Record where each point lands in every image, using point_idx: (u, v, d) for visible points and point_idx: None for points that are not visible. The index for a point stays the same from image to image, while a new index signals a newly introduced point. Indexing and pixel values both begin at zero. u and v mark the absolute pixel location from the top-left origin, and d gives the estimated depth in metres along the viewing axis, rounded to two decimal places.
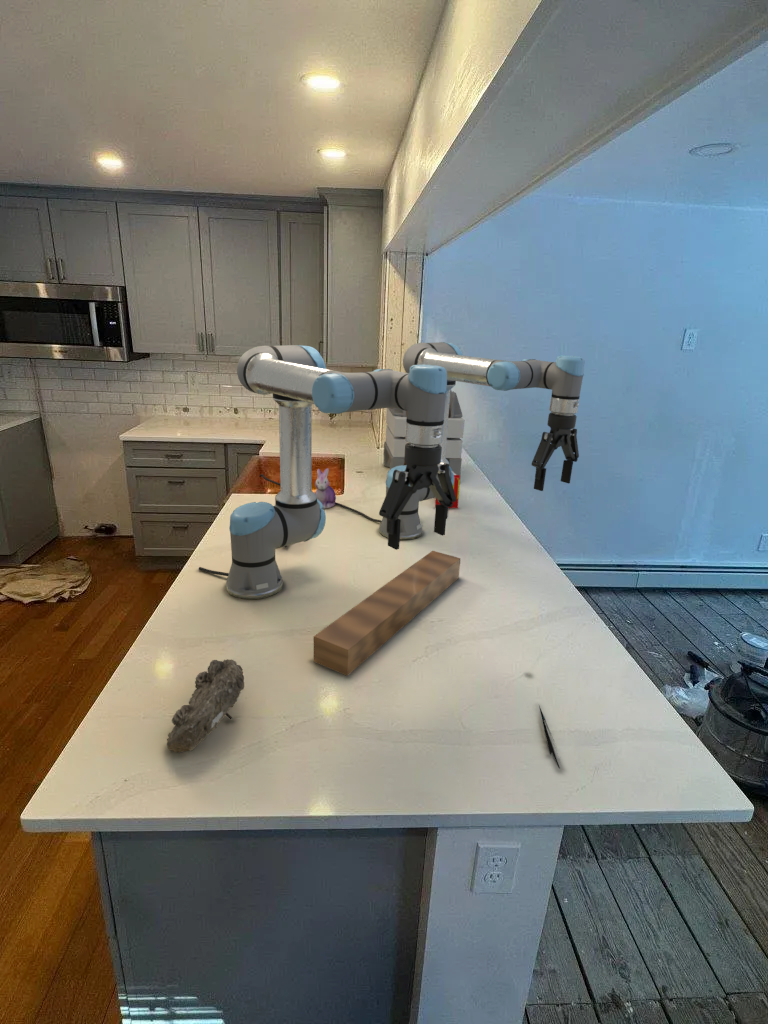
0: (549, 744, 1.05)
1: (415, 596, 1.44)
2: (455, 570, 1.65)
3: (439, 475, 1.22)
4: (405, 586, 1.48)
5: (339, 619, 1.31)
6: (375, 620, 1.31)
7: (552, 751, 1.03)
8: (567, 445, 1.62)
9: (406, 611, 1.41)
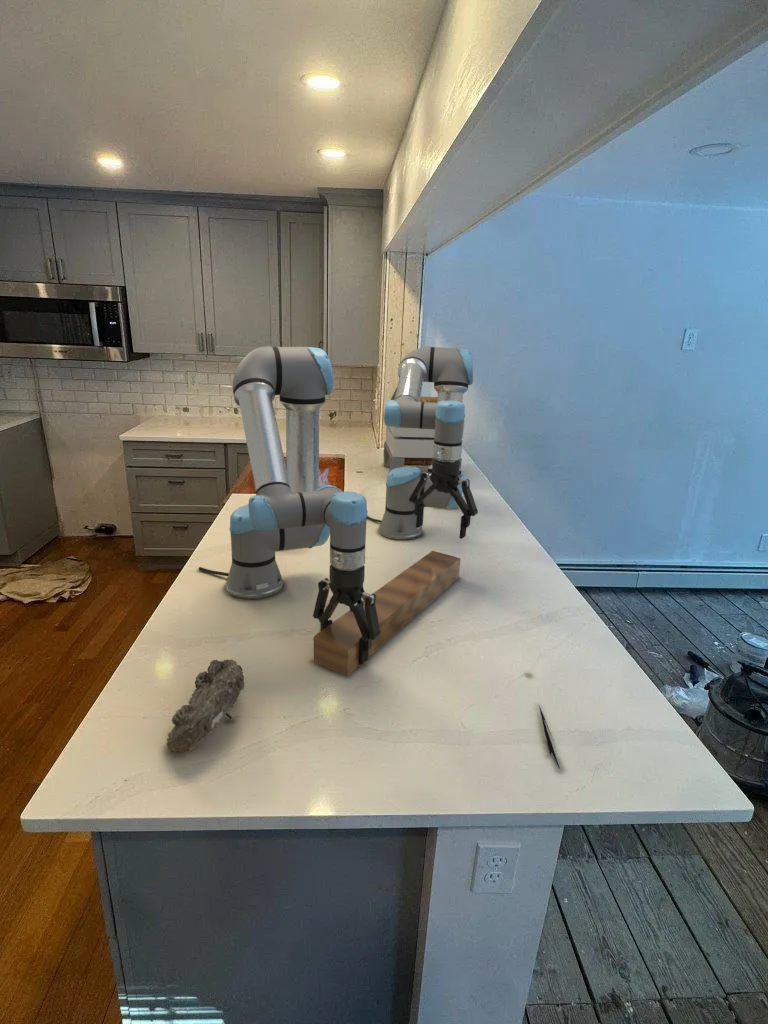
0: (549, 744, 1.05)
1: (415, 596, 1.44)
2: (455, 570, 1.65)
3: None
4: (405, 586, 1.48)
5: (339, 619, 1.31)
6: None
7: (552, 751, 1.03)
8: None
9: (406, 611, 1.41)
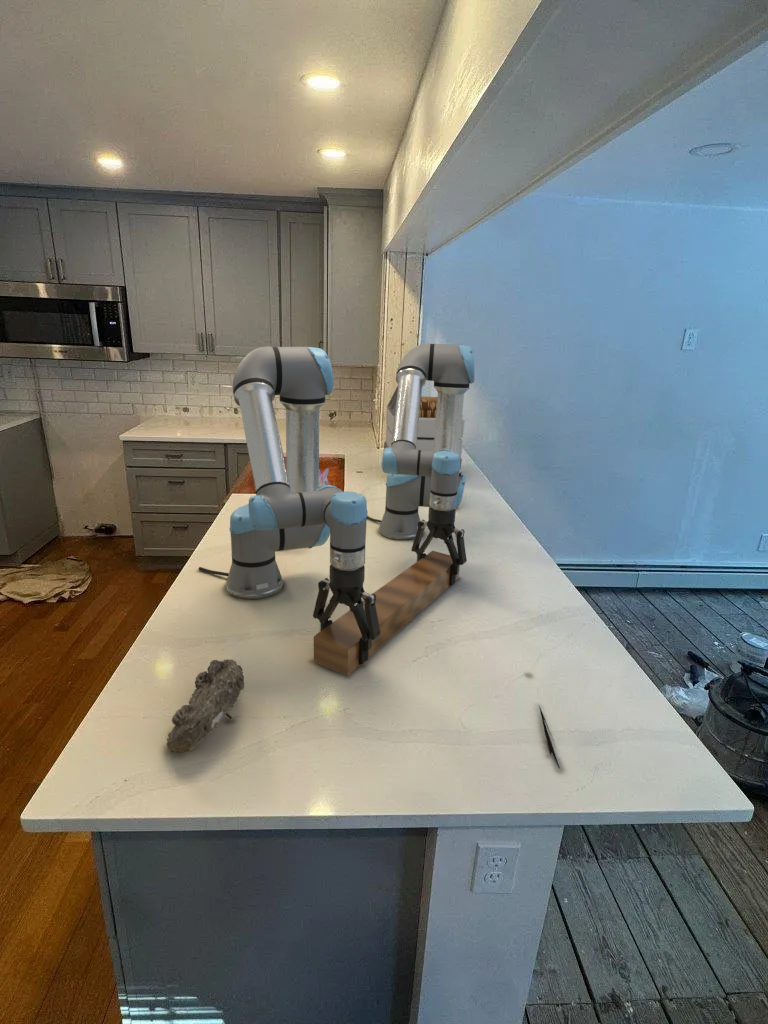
0: (549, 744, 1.05)
1: (415, 596, 1.44)
2: None
3: None
4: (405, 586, 1.48)
5: (339, 619, 1.31)
6: None
7: (552, 751, 1.03)
8: None
9: (406, 611, 1.41)
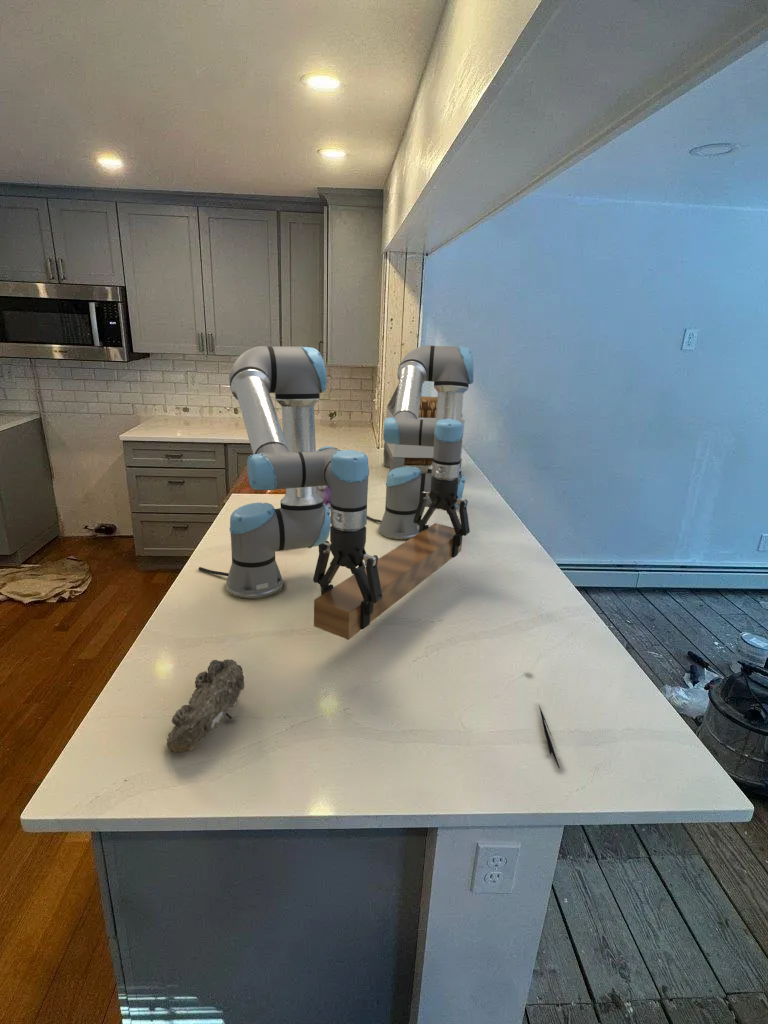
0: (549, 744, 1.05)
1: (417, 564, 1.41)
2: None
3: None
4: (407, 555, 1.45)
5: (340, 584, 1.28)
6: None
7: (552, 751, 1.03)
8: None
9: (408, 579, 1.39)
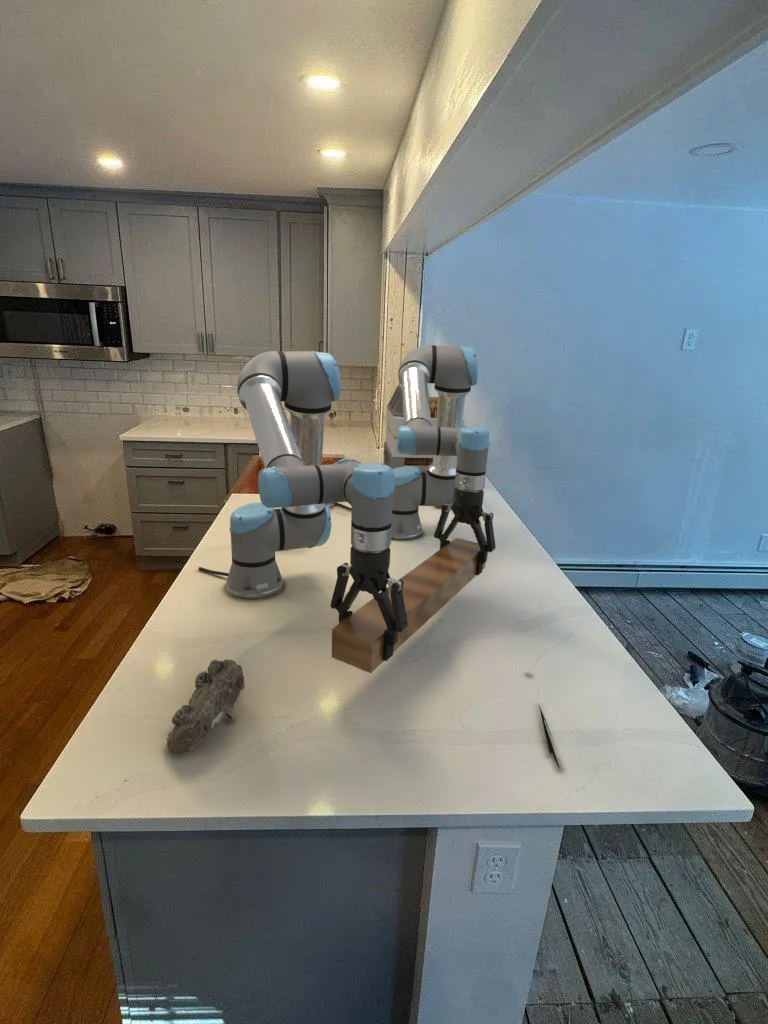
0: (549, 744, 1.05)
1: (441, 585, 1.29)
2: None
3: None
4: (429, 575, 1.33)
5: (359, 610, 1.17)
6: None
7: (552, 751, 1.03)
8: None
9: (432, 602, 1.27)
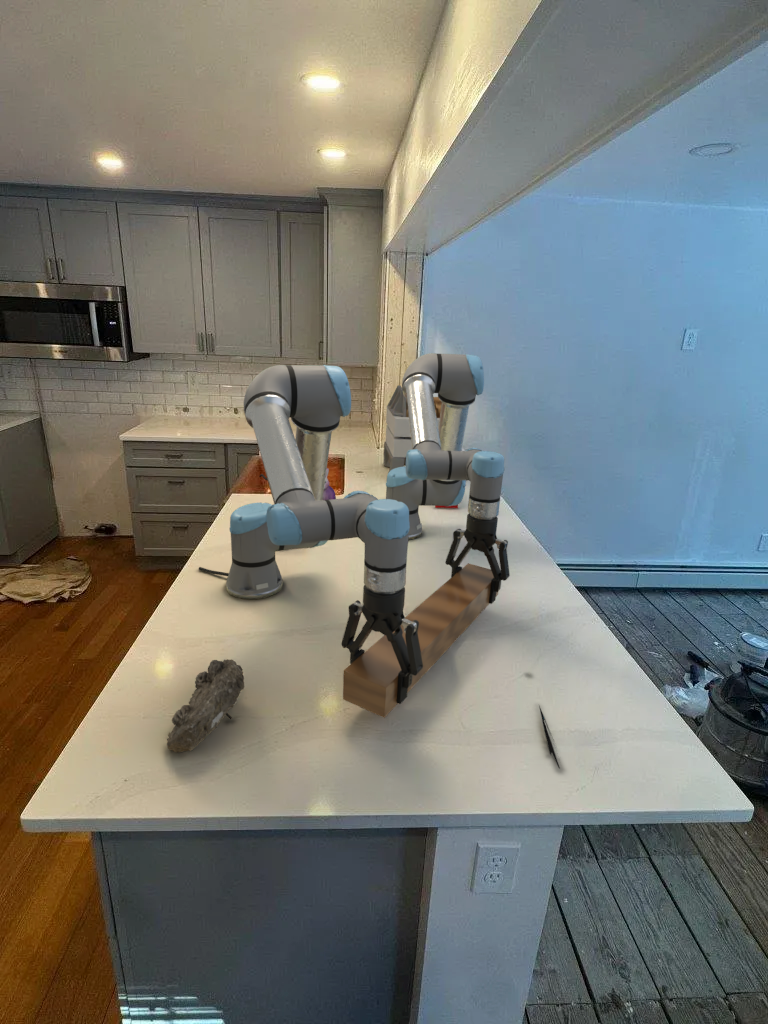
0: (549, 744, 1.05)
1: (455, 619, 1.25)
2: None
3: None
4: (443, 607, 1.29)
5: (372, 648, 1.12)
6: None
7: (552, 751, 1.03)
8: None
9: (446, 637, 1.22)
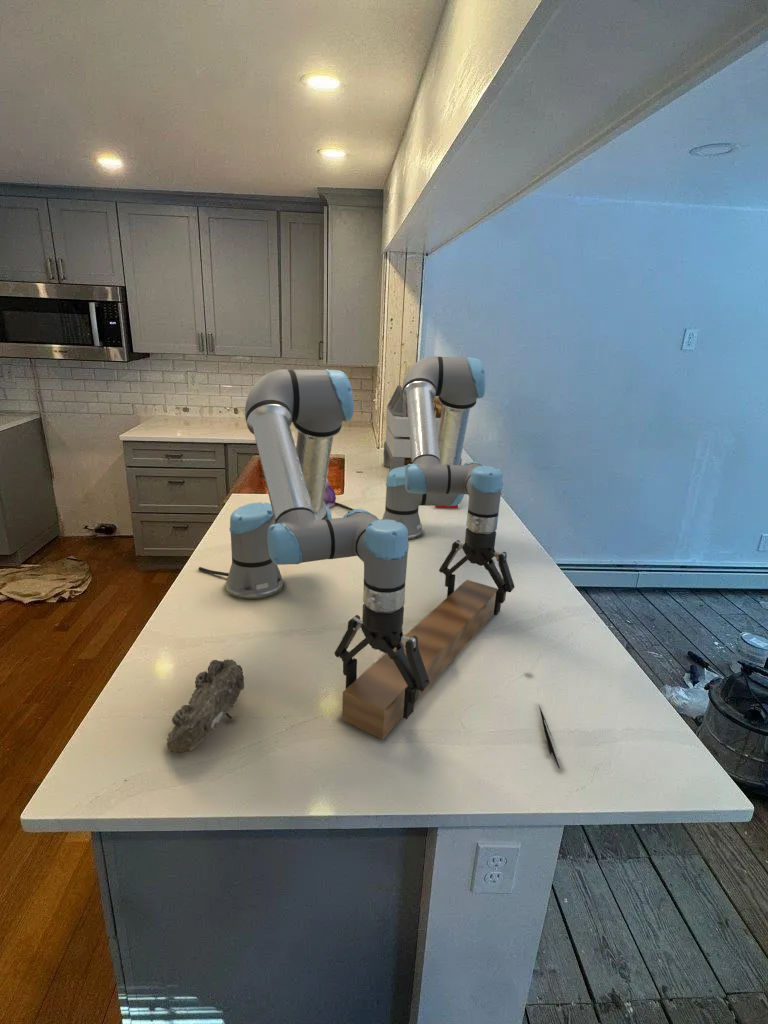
0: (549, 744, 1.05)
1: (453, 638, 1.26)
2: (493, 603, 1.47)
3: None
4: (441, 625, 1.30)
5: (370, 669, 1.14)
6: None
7: (552, 751, 1.03)
8: None
9: (444, 656, 1.24)
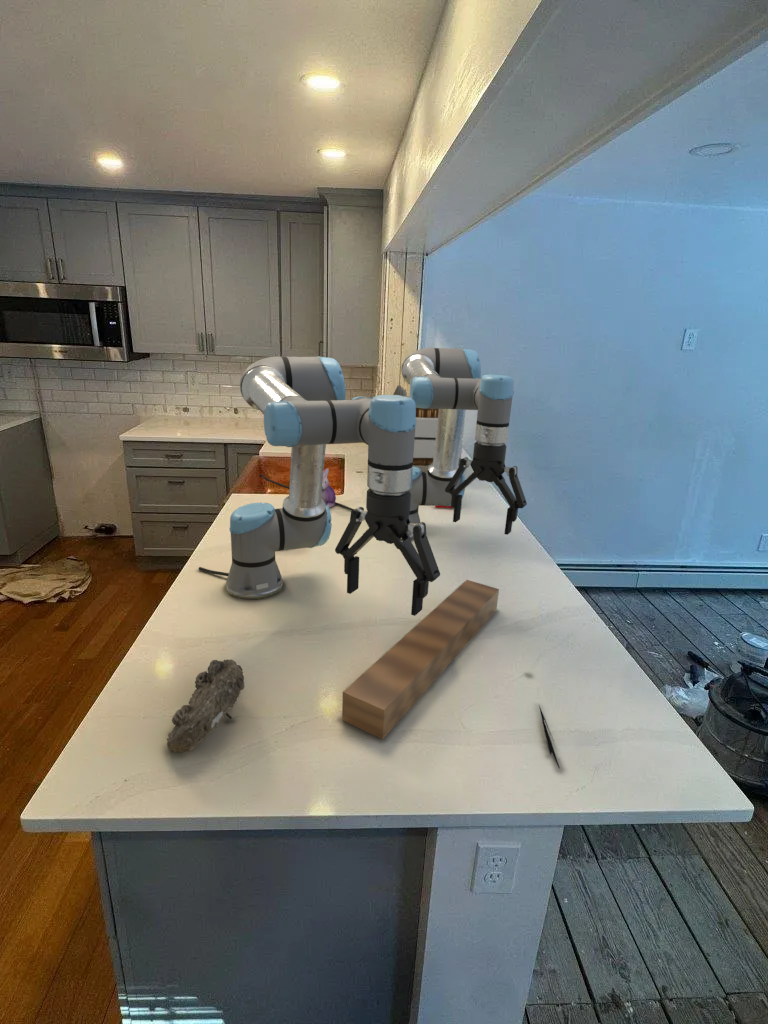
0: (549, 744, 1.05)
1: (453, 638, 1.26)
2: (493, 603, 1.47)
3: None
4: (441, 625, 1.30)
5: (370, 669, 1.14)
6: (412, 670, 1.14)
7: (552, 751, 1.03)
8: None
9: (444, 656, 1.24)
